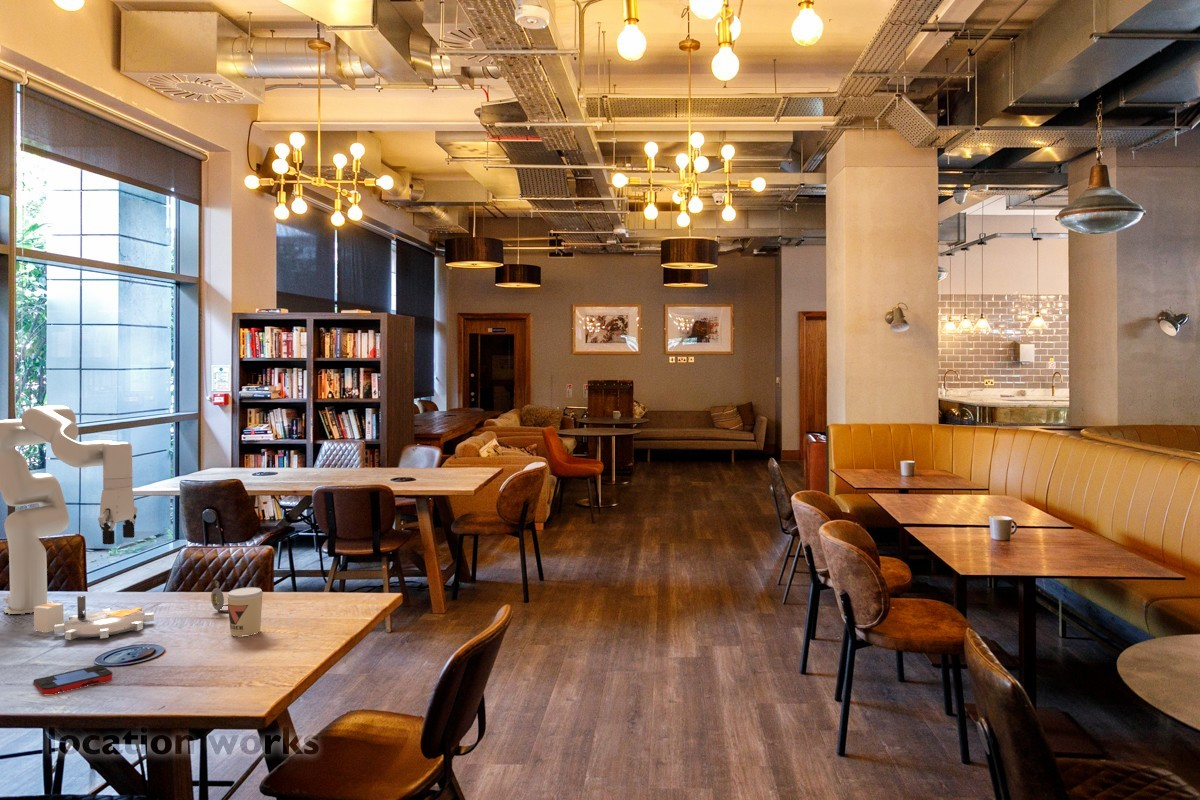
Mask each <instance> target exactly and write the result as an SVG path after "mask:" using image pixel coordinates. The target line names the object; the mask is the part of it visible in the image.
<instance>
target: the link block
mask: <svg viewBox="0 0 1200 800" xmlns="http://www.w3.org/2000/svg"><path fill="white" fill-rule="evenodd" d="M57 624H65V623H64V603H61V602H60V603H59V602H53V603H46V604H42V605H39V606H36V607H34V613H33V628H34V629H33V631H34V630H37V631H43V632H42V633H45V632H49V633H51V632H50V631H52V632H54V631H53V630H54V626H55V625H57Z"/></svg>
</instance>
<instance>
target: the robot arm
mask: <svg viewBox="0 0 1200 800" xmlns="http://www.w3.org/2000/svg"><path fill="white" fill-rule="evenodd" d="M76 422H77V418H76V414H75V412H74V411H73V409H71V408H70V407H68V406H66V405H39V406H33V407H29V408H28V409H27V410H25V411H24V412H23V413H22V415H21V418H10V419H9V418H8V419H1V420H0V493H1V497H2V499H3V502H4V503H5V504H6V505H7V506H10V507H21V506H23V507H24V506H28V505H30V506H31V505H35V504H37V505H38V506H36V507H29V508H28V507H27V508H24V509H20V510H15V511H13V512H12V513H10V514H9V515H8V516H7V517H6V518H5V520H4V532H5V535H6V539H7V546H8V556H9V557H8V561H9V563H8V564H9V594H7V596H6V597H3V598H2V601H3V602H4V603H8V605H7V606H5V607H4V609H3V613H4V612H5V613H4V614H6V613H8V614H7V615H10V614H21V615H26V614H25V613H30V614H33V613H32V612H34V607H36V606H39V605H42V604H46V603H54V601H52V600H48V575H47V574H48V572H47V571H48V569H47V567H48V566H47V565H48V564H47V550H46V547H45V546H44V545H43V543H42V542H41V541H40V538H42V537H47V536H53V535H54V536H55V535H58V534H60V533H63V532H64V531H66V529H67V528H68V526H69V523H70V516H69V512H68V507H67V505H66V500H65V497H64V494H63V490H62V487H61V484H60V482H59V480H58V479H57V477H55V476H54V475H53V474H50V473H45V472H40V473H31V471H30V469H29V463H28V462H27V459H26V458H25V456H24V455H23V454H22V453H21V452H20V451H18V450H17V449H16V448H15V447H19V446H32V445H42V444H46V443H49V444H50V447H51V451H52V454H53V455H54V457H55V458H56V459H57V460H59V461H61V462H62V463H64V464H66V465H68V466H71V467H74V468H78V469H79V468H80V469H81V468H83V469H84V468H88V467H89V468H91V467H100V466H102V485H103V488H102V492H101V497H100V505H99V507H100V508H99V516H98V518H97V521H98V523H99V527H100V528H101V529H100V531H102V545H115V541H116V540H115V530H114V527H115V525H116V524H118V523H122V522H123V524H122V537H123V538H125V539H126V538H127V539H130V538H131V539H133V538H135V524H136V519H137V513H138V510H139V509H138V508H137V507H136V506H135V499H134V498H135V497H134V490H133V486H134V485H133V484H134V483H133V482H134V481H133V446H132V444H131V443H130V442H127V441H115V440H110V439H109V440H107V439H105V440H102V439H101V440H91V441H90V440H89V441H82V442H81V441H76V440H77V438H78V436H79V431H80V430H79V427H78V425H77V424H76Z"/></svg>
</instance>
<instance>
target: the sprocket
mask: <svg viewBox="0 0 1200 800" xmlns="http://www.w3.org/2000/svg"><path fill="white" fill-rule="evenodd" d="M76 598H77V599H76V600H77V603H76V604H77V614H74V615H70V616H68V620H67V621H65V623H64V624H57V625H55V626H54V631H53V632H54V634H55V635H56V634H62V633H64V639H65V640H70V641H71V640H73V639H77V638H95V637H96V638H97V637H99V639H100V640H101V639H108V638H109V636H111V635H116V634H117V635H118V634H122V633H126V632H128V631H137V632H138V631H140V630H143V629H144V624H145V623H146V622H153V621H155V620H154V619H155V618H154V617H155V616H154V611H153V612H144V611H143V608H142V607H133V608H131V609H130V608H129V609H125V608H124V609H111V608H109V607H108V608H103V609H101V611H95V612H89V613H87V612H86V611H87V609H86V608H87V607H86V606H87V605H86V603H87V602H86V595H78V596H77V597H76Z"/></svg>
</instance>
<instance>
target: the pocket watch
mask: <svg viewBox="0 0 1200 800" xmlns="http://www.w3.org/2000/svg"><path fill="white" fill-rule="evenodd" d="M214 583H215V586H216V588H213V590H212V591H211V595H210V599H211V601H210V602H211V604H212V607H213V608H214V609H215V610H216V611H217V612H220V611H229V610H220V609H222V607H223V606H228V603H227V604H224V603H225V598H224V594H223V591H222V590H221V588H219V587H220V583H219V581H217V580H214Z"/></svg>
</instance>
